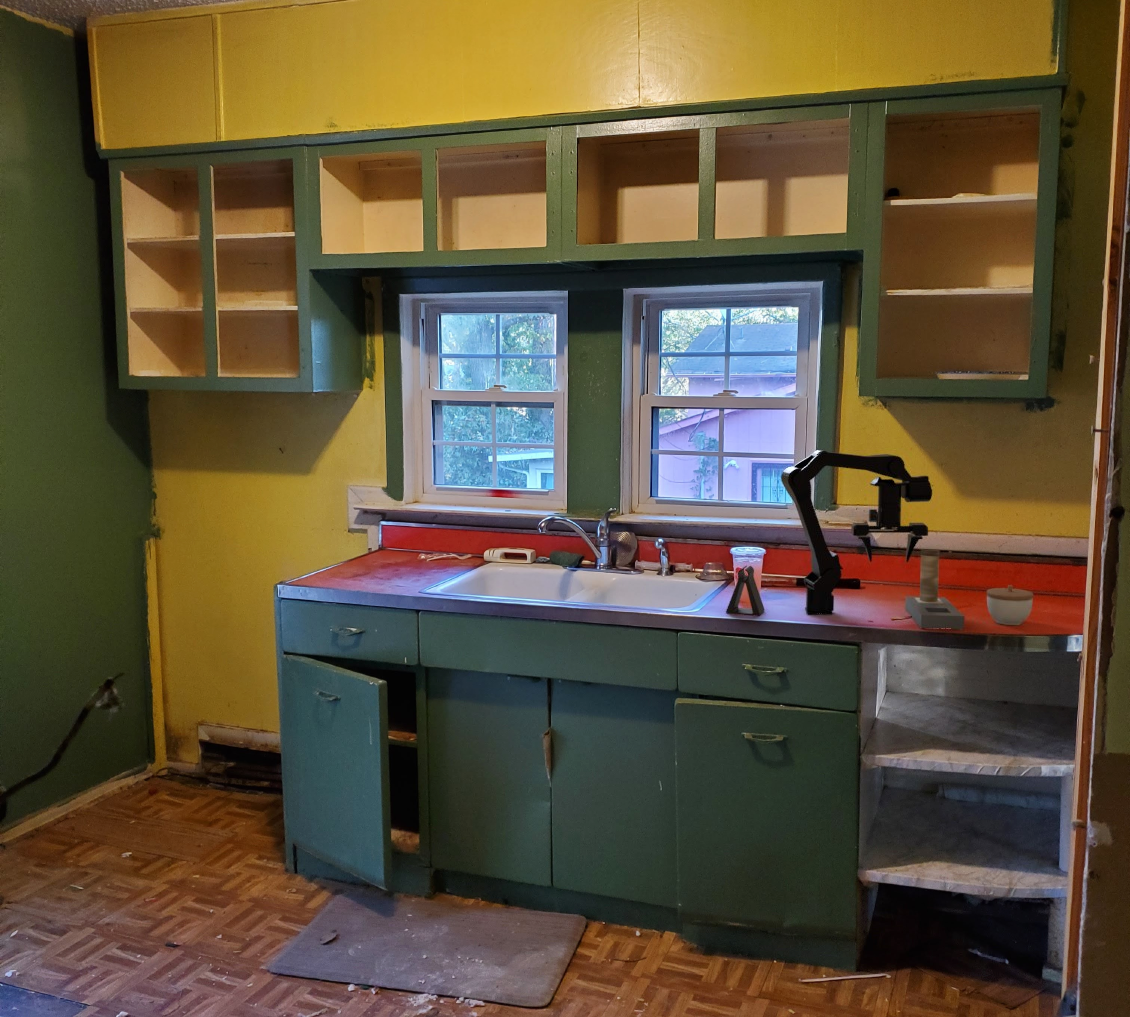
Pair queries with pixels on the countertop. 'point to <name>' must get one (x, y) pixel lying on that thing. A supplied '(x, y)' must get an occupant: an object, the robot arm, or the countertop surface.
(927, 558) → the maple plug
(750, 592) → the dark a-frame stand
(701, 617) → the countertop surface
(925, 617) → the grey slotted base
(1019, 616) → the lidded jar
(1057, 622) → the countertop surface
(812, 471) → the robot arm
